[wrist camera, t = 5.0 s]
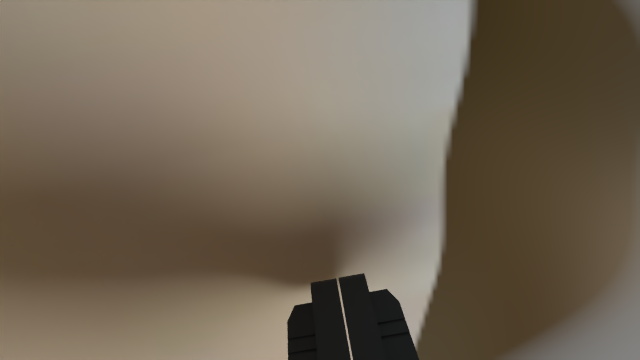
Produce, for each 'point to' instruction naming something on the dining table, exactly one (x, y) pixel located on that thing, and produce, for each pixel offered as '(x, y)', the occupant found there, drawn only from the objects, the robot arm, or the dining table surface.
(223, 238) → the dining table surface
